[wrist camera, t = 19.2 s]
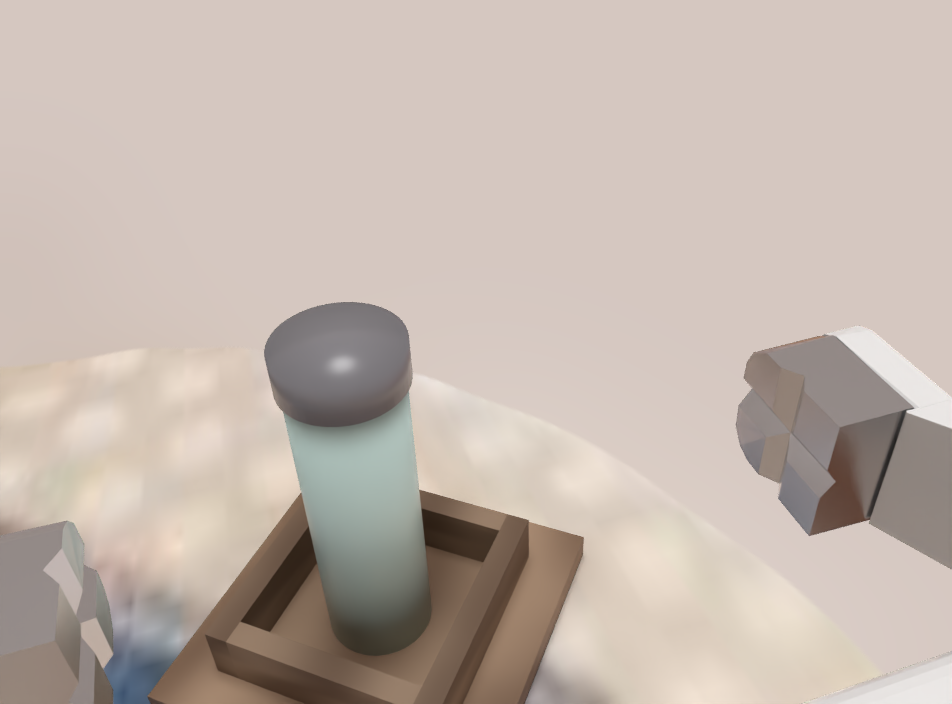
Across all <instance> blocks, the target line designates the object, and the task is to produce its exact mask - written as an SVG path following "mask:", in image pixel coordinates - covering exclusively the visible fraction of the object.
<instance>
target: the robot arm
mask: <svg viewBox="0 0 952 704" xmlns="http://www.w3.org/2000/svg"><path fill="white" fill-rule="evenodd" d="M744 379H745V381H746V382H747V383H748V384H749V386H750V387H751V388H752V389H751V391H750V392H749V393H748V394H747V396H746V397H745V398H744V399H743V400H742V402H741V403H740V404H739V407H738V414H737V422H736V428H737V433H738V438H739V442H740V446H741V448H742V450H743V452H744V454H745V456H746V458H747V460H748V462H749V463H750V464H751V465H752V467H753V468H754V469H755V471H756V472H757V473H758V474H759V475H761V476H764V477H766V478H768V479H771V480H773V481H775V482H777V483H779V494H778V495H779V496H778V499H779V500H780V501H781V503H782V504H783V505H784V506H785V507H786V509H787V510H788V511H789V512H790V513H791V515H792V516H793V517H794V518H795V520H796V521H797V522H798V523H799V524H800V526H801V527H802V528H803V529H804V530H805V532H806V533H807V534H808V535H809V536H811V535H815V534H819V533H822V532H826V531H830V530H834V529H837V528H841V527H845V526H849V525H852V524H856V523H860V522H863V521H867V520H870V521H869V524H871V525H873V526H874V527H876V528H878V529H880V530H882V531H883V532H885V533H887V534H889V535H891V536H893V537H894V538H896V539H898V540H900V541H901V542H903V543H905V544H907V545H909V546H910V547H912V548H914V549H916V550H918V551H920V552H922V553H923V554H925V555H927V556H928V557H930V558H932V559H934V560H936V561H938V562H939V563H941V564H943V565H945V566H947V567H948V568H950V569H952V397H951V396H949V395H948V394H947V393H946V392H945V391H943V390H942V389H941V388H940V387H939V386H938V385H936V384H935V383H934V382H933V381H932V380H931V379H929V378H928V377H927V376H926V375H925V374H923V373H922V372H921V371H920V370H919V369H917V368H916V367H915V366H914V365H913V364H911V363H910V362H909V361H908V360H907V359H906V358H904V357H903V356H902V355H901V354H900V353H898V352H897V351H896V350H895V349H894V348H892V347H891V346H890V345H889V344H888V343H887V342H885V341H884V340H883V339H882V338H881V337H879V336H878V335H877V334H876V333H875V332H873V331H872V330H871V329H869V328H866V327H863V326H860V325H858V326H854V327H850V328H846V329H842V330H839V331H835V332H831V333H828V334H824V335H823V336H817V337H813V338H809V339H805V340H801V341H797V342H794V343H790V344H785V345H781V346H778V347H774V348H770V349H766V350H762V351H758V352H754V353H753V354H752V356H751V357H750V359H749V360H748V362H747V364H746V370H745V374H744ZM112 655H113V628H112V621H111V614H110V608H109V603H108V600H107V596H106V593H105V590H104V586H103V584H102V582H101V579H100V577H99V575H98V573H97V571H96V570H94V569H91V568H89V567H87V566H85V565H84V542H83V540H82V538H81V536H80V534H79V533H78V531H77V529H76V527H75V525H74V523H72V522H69V521H64V522H59V523H55V524H50V525H46V526H41V527H37V528H32V529H28V530H23V531H19V532H14V533H10V534H5V535H1V536H0V704H113V689H112V687H111V685H110V683H109V681H108V679H107V676H106V674H105V672H104V670H103V668H104V667H105V665H106V664H107V662H108V661H109V660H110V658H111V657H112ZM801 704H952V651H951V652H948V653H945V654H942V655H939V656H936V657H933V658H931V659H928V660H925V661H922V662H919V663H916V664H913V665H910V666H908V667H905V668H902V669H899V670H896V671H893V672H890V673H887V674H885V675H882V676H879V677H876V678H873V679H870V680H867V681H864V682H862V683H859V684H856V685H853V686H850V687H847V688H844V689H841V690H839V691H836V692H833V693H830V694H827V695H824V696H821V697H818V698H816V699H813V700H810V701H807V702H804V703H801Z"/></svg>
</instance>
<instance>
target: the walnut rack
mask: <svg viewBox="0 0 952 704" xmlns="http://www.w3.org/2000/svg"><path fill="white" fill-rule="evenodd" d="M419 493H420V502H421V511H422V521H423V530H424V539H425V549H426V558H427V567H428V577H429V586H430V595H431V606H432V611H431V617H430V621H429V623H428V625H427V627H426V629H425V631H424V632H423V633H422V635H421V636H420V637H419V638H418V639H417V640H416V641H415V642H413V643H412V644H411V645H409V646H408V647H406V648H404V649H402V650H400V651H398V652H395V653H391V654H387V655H379V656H371V655H364V654H360V653H357V652H354V651H352V650H350V649H348V648H347V647H345V646H344V645H343V644H342V643H341V642H340V641H339V640H338V639H337V638H336V636H335V634H334V632H333V630H332V627H331V623H330V618H329V614H328V609H327V605H326V601H325V596H324V592H323V587H322V583H321V578H320V574H319V569H318V565H317V560H316V556H315V551H314V547H313V542H312V538H311V534H310V529H309V525H308V520H307V516H306V511H305V507H304V502H303V498H302V493H300V495H299V496H298V497H297V499H296V500H295V501H294V503H293V504H292V505H291V507H290V508H289V509H288V511H287V512H286V513H285V515H284V516H283V517H282V519H281V520H280V521H279V523H278V524H277V525H276V527H275V528H274V529H273V531H272V532H271V533H270V535H269V536H268V537H267V539H266V540H265V541H264V543H263V544H262V545H261V547H260V548H259V549H258V550H257V552H256V553H255V554H254V556H253V557H252V558H251V560H250V561H249V562H248V564H247V565H246V566H245V568H244V569H243V570H242V572H241V573H240V574H239V576H238V577H237V578H236V580H235V581H234V582H233V584H232V585H231V586H230V588H229V589H228V590H227V592H226V593H225V594H224V596H223V597H222V598H221V600H220V601H219V602H218V604H217V605H216V606H215V608H214V609H213V610H212V611H211V613H210V614H209V615H208V617H207V618H206V619H205V621H204V622H203V623H202V625H201V626H200V627H199V629H198V630H197V631H196V633H195V634H194V635H193V637H192V638H191V639H190V641H189V642H188V643H187V645H186V646H185V647H184V649H183V650H182V651H181V653H180V654H179V655H178V657H177V658H176V659H175V661H174V662H173V663H172V665H171V666H170V667H169V669H168V670H167V671H166V673H165V674H164V675H163V676H162V678H161V679H160V680H159V682H158V683H157V684H156V686H155V687H154V688H153V690H152V691H151V692H150V694H149V695H148V696H147V697H148V699H149V701H150V703H151V704H524V703H525V700H526V698H527V695H528V693H529V690H530V688H531V685H532V682H533V680H534V677H535V675H536V672H537V670H538V667H539V665H540V662H541V659H542V657H543V654H544V652H545V649H546V647H547V644H548V642H549V639H550V637H551V634H552V631H553V629H554V626H555V624H556V621H557V619H558V616H559V614H560V611H561V608H562V606H563V603H564V601H565V598H566V596H567V593H568V591H569V588H570V585H571V583H572V580H573V578H574V575H575V573H576V570H577V568H578V565H579V563H580V560H581V557H582V555H583V540H584V537H581V536H577V535H573V534H570V533H566V532H563V531H559V530H556V529H552V528H548V527H545V526H541V525H538V524H534V523H530V522H529V520H526V519H522V518H519V517H515V516H512V515H508V514H504V513H501V512H497V511H494V510H490V509H486V508H483V507H479V506H476V505H472V504H468V503H465V502H461V501H458V500H454V499H451V498H447V497H443V496H440V495H436V494H433V493H429V492H425V491H422V490H419Z"/></svg>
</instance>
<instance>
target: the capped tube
mask: <svg viewBox="0 0 952 704" xmlns="http://www.w3.org/2000/svg"><path fill="white" fill-rule="evenodd" d="M264 357H265V361H266V365H267V370H268V374H269V378H270V383H271V387H272V391H273V396H274V399H275V401H276V404H277V405H278V406H279V408H280V409H281V410H282V411H283V413H284V417H285V422H286V426H287V431H288V435H289V440H290V444H291V449H292V453H293V458H294V462H295V467H296V471H297V475H298V480H299V484H300V489H301V493H302V498H303V502H304V507H305V511H306V516H307V520H308V525H309V529H310V534H311V538H312V542H313V547H314V551H315V556H316V560H317V565H318V569H319V574H320V578H321V583H322V587H323V592H324V596H325V601H326V605H327V609H328V614H329V618H330V623H331V627H332V630H333V632H334V634H335V636H336V638H337V639H338V640H339V641H340V642H341V643H342V644H343V645H344V646H345V647H347V648H348V649H350V650H352V651H354V652H357V653H360V654H364V655H371V656H379V655H387V654H391V653H395V652H398V651H400V650H402V649H404V648H406V647H408V646H409V645H411V644H412V643H413V642H415V641H416V640H417V639H418V638H419V637H420V636H421V635H422V633H423V632H424V631H425V629H426V627H427V625H428V623H429V621H430V617H431V611H432V606H431V595H430V586H429V577H428V567H427V558H426V549H425V539H424V530H423V521H422V511H421V502H420V493H419V483H418V474H417V465H416V455H415V446H414V437H413V427H412V418H411V409H410V399H409V389H410V386H411V383H412V364H411V353H410V344H409V335H408V330H407V328H406V326H405V325H404V323H403V322H402V320H401V319H400V318H399V317H397V316H396V315H395V314H393V313H392V312H390V311H388V310H386V309H384V308H381V307H378V306H375V305H371V304H365V303H357V302H341V303H331V304H325V305H321V306H317V307H314V308H310V309H307V310H305V311H302V312H300V313H298V314H296V315H294V316H292V317H290V318H289V319H287V320H286V321H284V322H283V323H282V324H280V325H279V326H278V327H277V328H276V329H275V330H274V332H273V333H272V334H271V335H270V337H269V338H268V341H267V343H266V345H265V350H264Z"/></svg>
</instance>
